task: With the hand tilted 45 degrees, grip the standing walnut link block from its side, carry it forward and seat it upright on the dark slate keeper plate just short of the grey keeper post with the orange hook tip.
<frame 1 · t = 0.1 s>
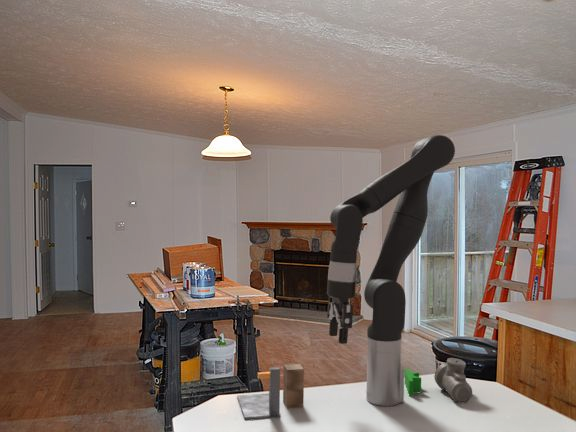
hand: (337, 339, 133), 17 cm above the kitchen counter, tool pointing down, fingers open, 8 cm apart
keeper: (257, 406, 131), on the kitchen counter
pipe fitting: (454, 397, 140), on the kitchen counter
link block: (293, 404, 133), on the kitchen counter
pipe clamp: (412, 390, 145), on the kitchen counter
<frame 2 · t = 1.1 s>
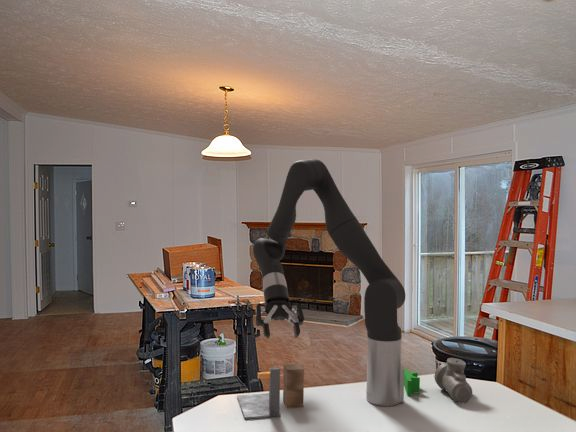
hand: (282, 336, 145), 15 cm above the kitchen counter, tool tilted 45°, fingers open, 8 cm apart
nothing on the kitchen counter moved.
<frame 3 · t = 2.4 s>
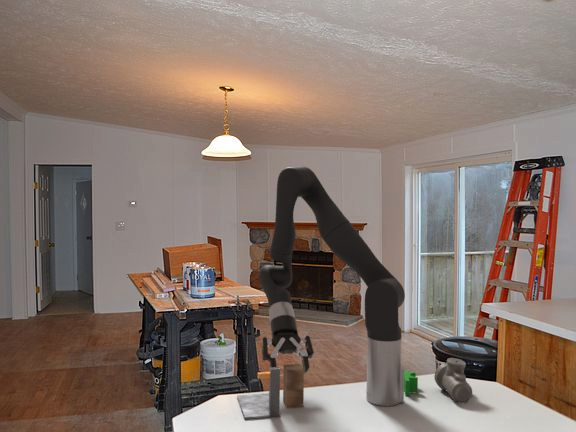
hand: (290, 372, 136), 8 cm above the kitchen counter, tool tilted 45°, fingers open, 8 cm apart
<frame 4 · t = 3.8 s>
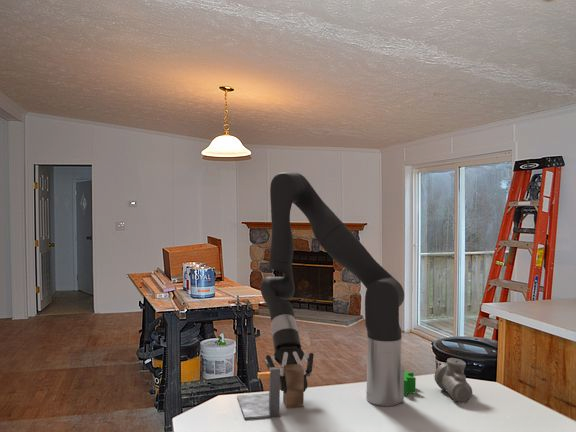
hand: (294, 390, 132), 4 cm above the kitchen counter, tool tilted 45°, fingers closed on link block, 4 cm apart
link block: (293, 404, 133), on the kitchen counter, touching gripper
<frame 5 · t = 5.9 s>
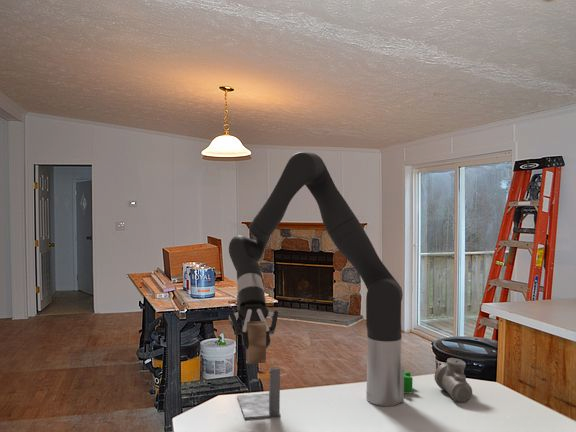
hand: (257, 346, 130), 16 cm above the kitchen counter, tool tilted 45°, fingers closed on link block, 4 cm apart
link block: (255, 360, 132), point 12 cm above the kitchen counter, touching gripper
when the fingers open (6 cm above the kitchen counter, at t = 8.1 s): link block drops 1 cm, resting on keeper.
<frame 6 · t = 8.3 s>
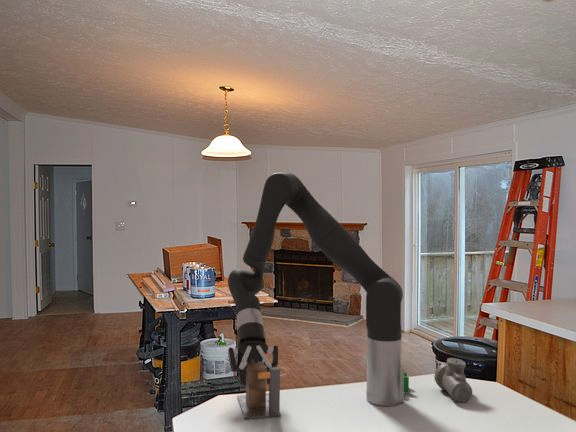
hand: (256, 383, 130), 6 cm above the kitchen counter, tool tilted 45°, fingers open, 6 cm apart
link block: (255, 403, 132), point 1 cm above the kitchen counter, touching keeper
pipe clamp: (400, 390, 146), on the kitchen counter
everything else where it was.
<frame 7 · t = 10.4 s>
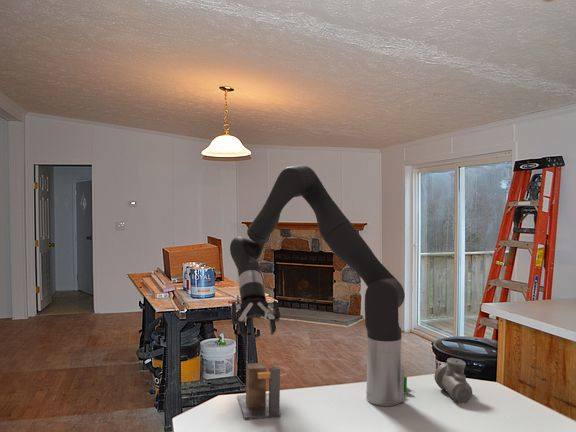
hand: (258, 333, 143), 16 cm above the kitchen counter, tool tilted 45°, fingers open, 8 cm apart
nothing on the kitchen counter moved.
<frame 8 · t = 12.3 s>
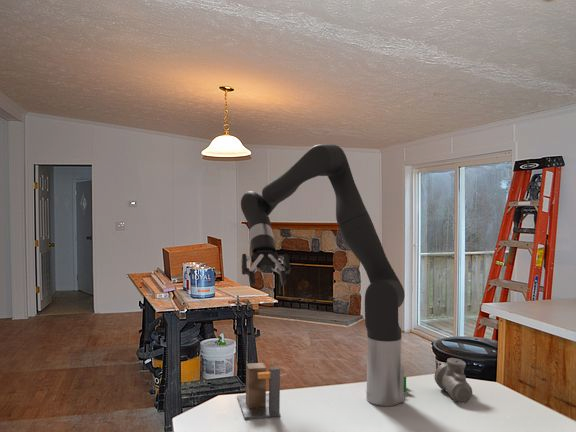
hand: (268, 284, 142), 31 cm above the kitchen counter, tool tilted 45°, fingers open, 8 cm apart
nothing on the kitchen counter moved.
at the end: link block inside the target area on the keeper (1.8 cm from its centre), point 0.6 cm above the keeper's base; link block tilted 0°; the gripper is holding nothing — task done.
